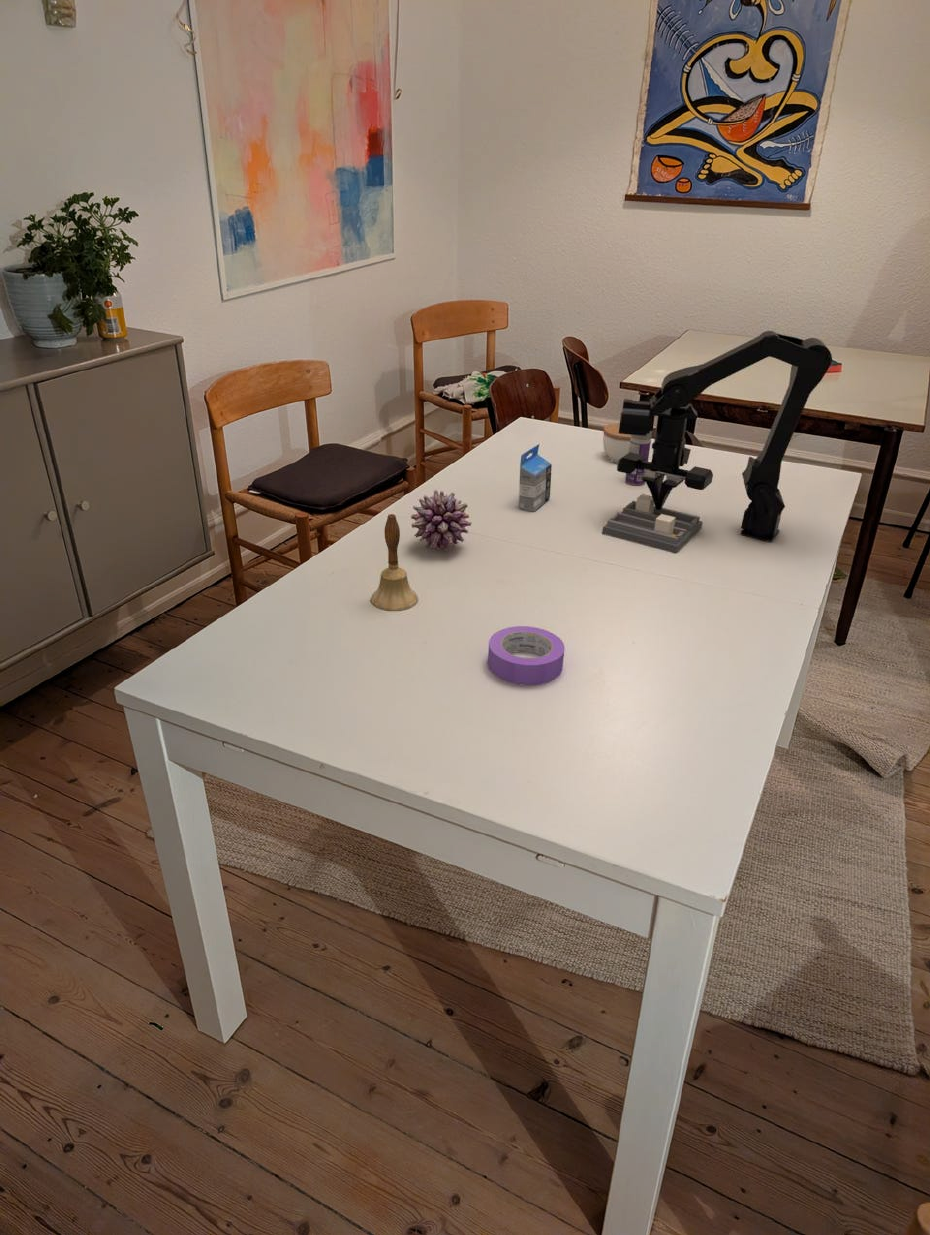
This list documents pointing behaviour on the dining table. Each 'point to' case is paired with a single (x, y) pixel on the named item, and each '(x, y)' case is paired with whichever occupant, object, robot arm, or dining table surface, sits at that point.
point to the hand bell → (393, 576)
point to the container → (641, 447)
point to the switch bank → (652, 527)
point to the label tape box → (534, 480)
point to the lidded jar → (615, 442)
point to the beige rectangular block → (645, 503)
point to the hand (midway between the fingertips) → (658, 509)
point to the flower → (440, 520)
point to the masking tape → (525, 668)
